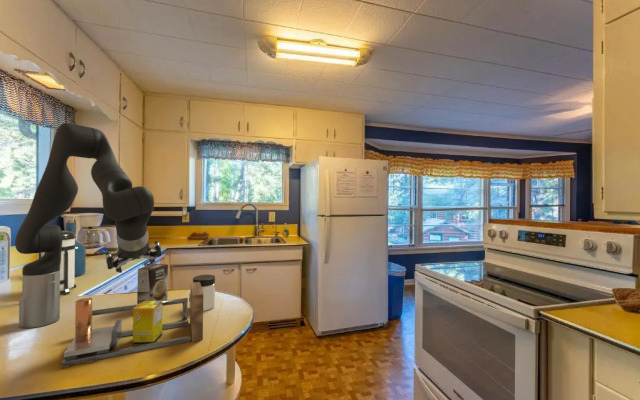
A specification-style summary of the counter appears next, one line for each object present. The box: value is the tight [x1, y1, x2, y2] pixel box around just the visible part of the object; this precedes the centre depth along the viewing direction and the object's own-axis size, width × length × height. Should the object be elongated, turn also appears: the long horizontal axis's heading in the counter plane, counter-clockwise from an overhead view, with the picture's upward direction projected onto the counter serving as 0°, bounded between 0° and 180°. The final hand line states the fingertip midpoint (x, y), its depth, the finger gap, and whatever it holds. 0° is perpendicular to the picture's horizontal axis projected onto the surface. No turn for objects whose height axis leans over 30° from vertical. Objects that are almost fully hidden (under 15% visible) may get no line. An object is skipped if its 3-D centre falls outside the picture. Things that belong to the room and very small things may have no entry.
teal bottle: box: [64, 219, 87, 278], centre depth 153 cm, size 14×13×30 cm
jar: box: [192, 274, 216, 312], centre depth 112 cm, size 9×8×12 cm
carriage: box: [63, 297, 122, 361], centre depth 81 cm, size 11×13×13 cm
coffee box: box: [136, 263, 169, 305], centre depth 112 cm, size 9×6×16 cm
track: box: [60, 319, 191, 369], centre depth 85 cm, size 30×15×1 cm, turn 117°
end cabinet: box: [188, 282, 204, 342], centre depth 92 cm, size 4×14×14 cm, turn 27°
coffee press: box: [37, 225, 77, 296], centre depth 125 cm, size 17×16×30 cm
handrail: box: [92, 297, 189, 321], centre depth 95 cm, size 30×2×8 cm, turn 117°
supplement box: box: [132, 301, 163, 346], centre depth 86 cm, size 6×6×11 cm
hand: (135, 266), depth 92 cm, fingers open, 8 cm apart
